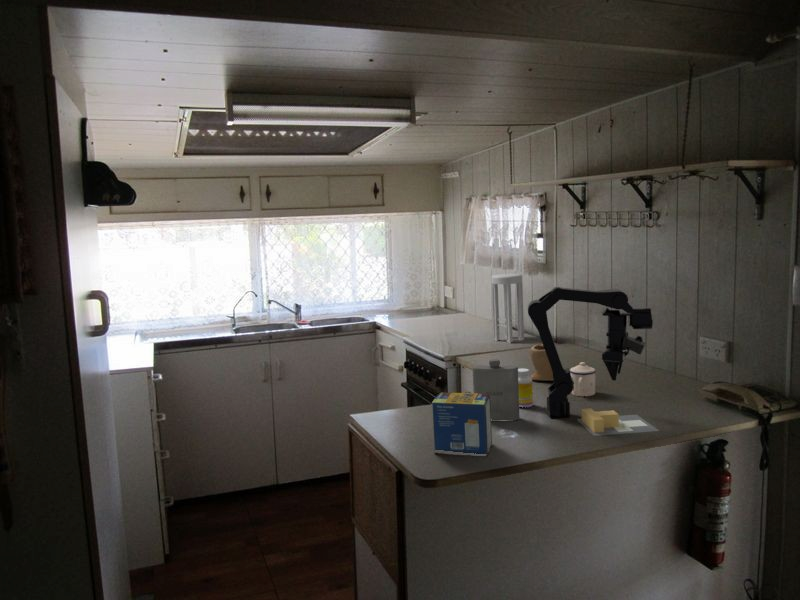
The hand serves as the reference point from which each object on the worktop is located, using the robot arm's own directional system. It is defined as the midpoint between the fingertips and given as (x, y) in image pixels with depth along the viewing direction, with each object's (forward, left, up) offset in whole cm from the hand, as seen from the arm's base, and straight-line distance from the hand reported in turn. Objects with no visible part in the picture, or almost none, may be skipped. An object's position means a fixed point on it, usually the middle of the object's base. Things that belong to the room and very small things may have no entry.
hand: (616, 376), depth 203 cm
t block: (-8, -8, -13) cm, 17 cm away
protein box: (-53, -18, -14) cm, 58 cm away
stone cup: (-8, +49, -14) cm, 51 cm away
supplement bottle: (-26, +19, -13) cm, 35 cm away
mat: (-4, -8, -13) cm, 16 cm away
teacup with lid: (-2, +27, -13) cm, 30 cm away
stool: (-5, +133, -13) cm, 133 cm away
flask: (-38, +7, -14) cm, 41 cm away
